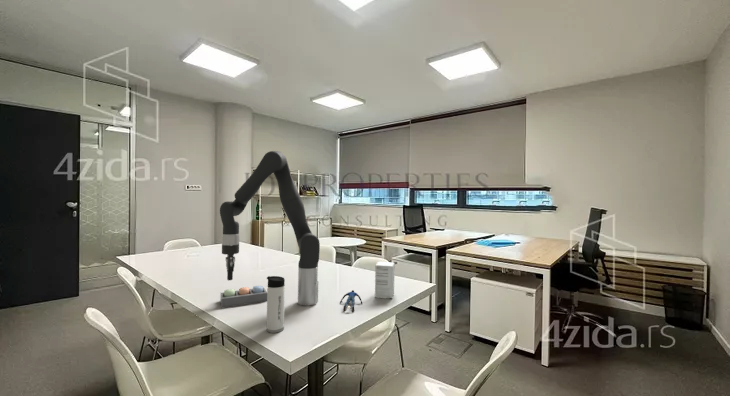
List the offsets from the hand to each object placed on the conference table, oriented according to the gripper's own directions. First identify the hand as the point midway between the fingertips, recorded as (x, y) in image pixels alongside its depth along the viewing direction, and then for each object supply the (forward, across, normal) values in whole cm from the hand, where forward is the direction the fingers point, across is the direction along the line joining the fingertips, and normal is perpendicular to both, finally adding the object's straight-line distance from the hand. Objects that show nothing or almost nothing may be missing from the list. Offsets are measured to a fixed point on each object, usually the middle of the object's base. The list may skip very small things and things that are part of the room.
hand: (229, 279), depth 138 cm
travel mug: (+11, +38, +13) cm, 42 cm away
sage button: (+9, 0, 0) cm, 9 cm away
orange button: (+8, 0, +6) cm, 11 cm away
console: (+11, 0, +6) cm, 13 cm away
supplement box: (+11, +23, +73) cm, 77 cm away
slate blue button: (+8, 0, +13) cm, 15 cm away
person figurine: (+12, +28, +50) cm, 59 cm away
